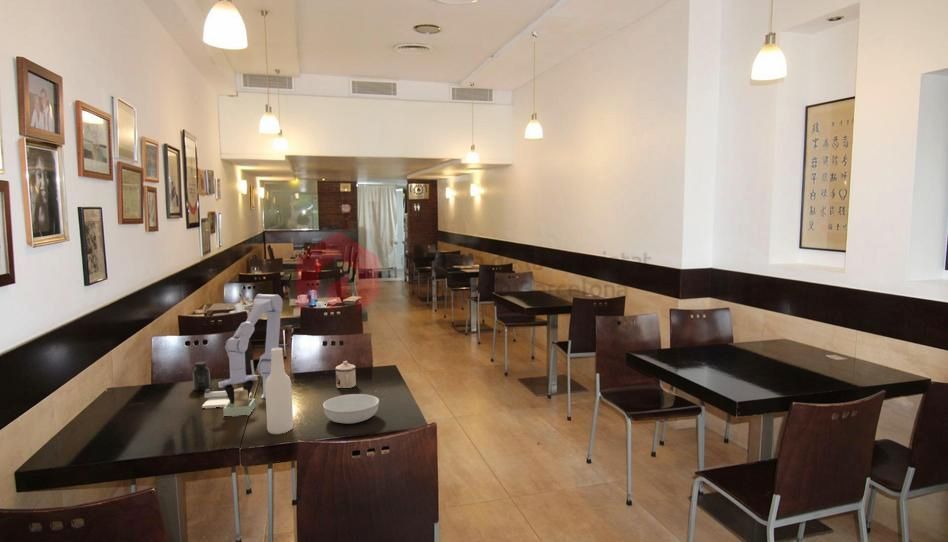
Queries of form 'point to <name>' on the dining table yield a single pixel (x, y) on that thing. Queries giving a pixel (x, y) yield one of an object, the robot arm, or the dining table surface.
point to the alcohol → (278, 396)
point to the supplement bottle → (201, 376)
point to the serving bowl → (351, 408)
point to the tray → (239, 409)
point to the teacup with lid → (345, 375)
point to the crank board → (217, 402)
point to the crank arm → (215, 394)
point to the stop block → (240, 397)
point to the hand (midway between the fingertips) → (239, 401)
